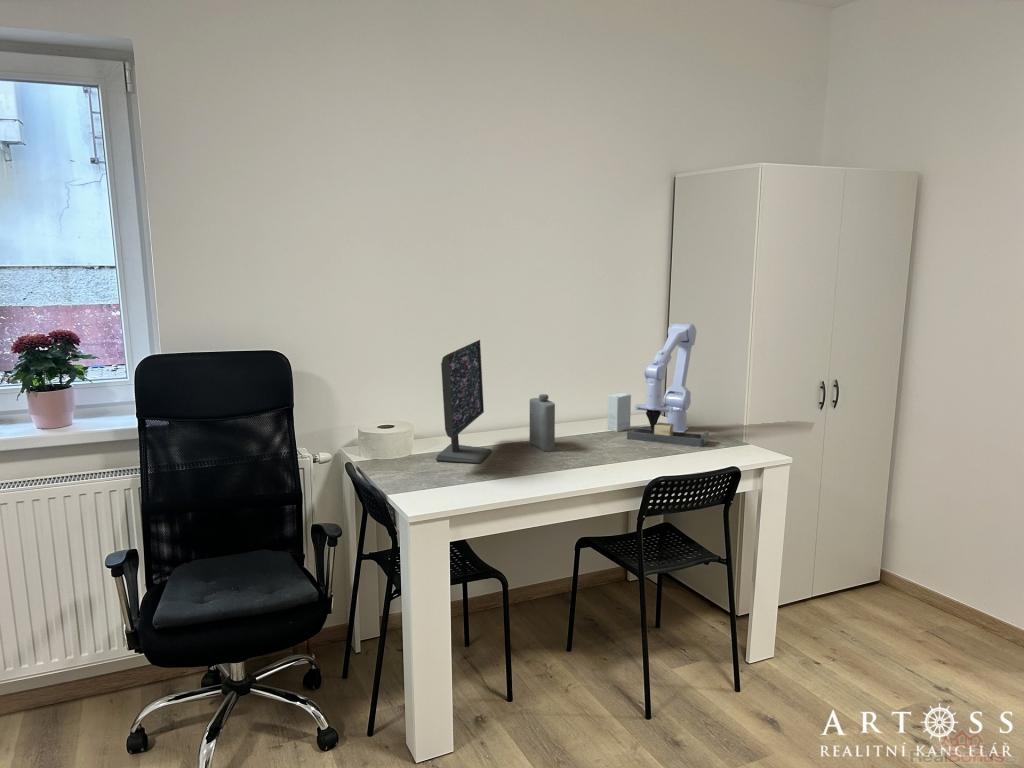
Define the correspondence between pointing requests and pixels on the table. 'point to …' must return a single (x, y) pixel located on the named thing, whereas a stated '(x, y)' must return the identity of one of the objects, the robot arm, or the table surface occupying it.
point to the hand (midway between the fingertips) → (653, 429)
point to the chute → (670, 437)
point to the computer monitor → (462, 401)
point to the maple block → (664, 429)
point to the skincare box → (619, 412)
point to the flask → (542, 423)
